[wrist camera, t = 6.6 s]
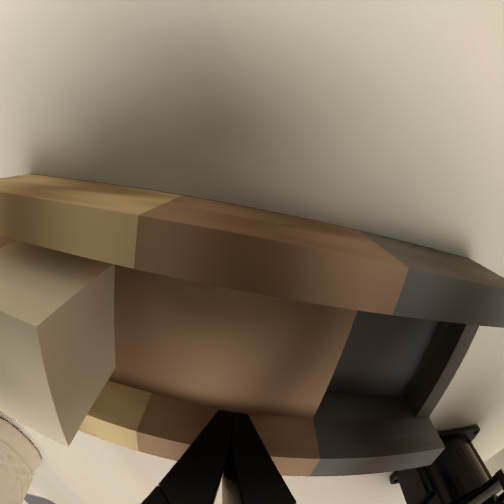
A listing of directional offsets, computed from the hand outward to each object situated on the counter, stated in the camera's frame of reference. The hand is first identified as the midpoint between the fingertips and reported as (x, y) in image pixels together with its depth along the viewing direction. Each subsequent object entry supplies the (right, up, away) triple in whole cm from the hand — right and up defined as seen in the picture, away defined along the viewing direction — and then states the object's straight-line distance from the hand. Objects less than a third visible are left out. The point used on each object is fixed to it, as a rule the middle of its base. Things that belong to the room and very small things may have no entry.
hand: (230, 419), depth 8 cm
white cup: (-23, -14, +11) cm, 30 cm away
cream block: (-7, +2, +3) cm, 9 cm away
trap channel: (0, +2, +6) cm, 6 cm away
